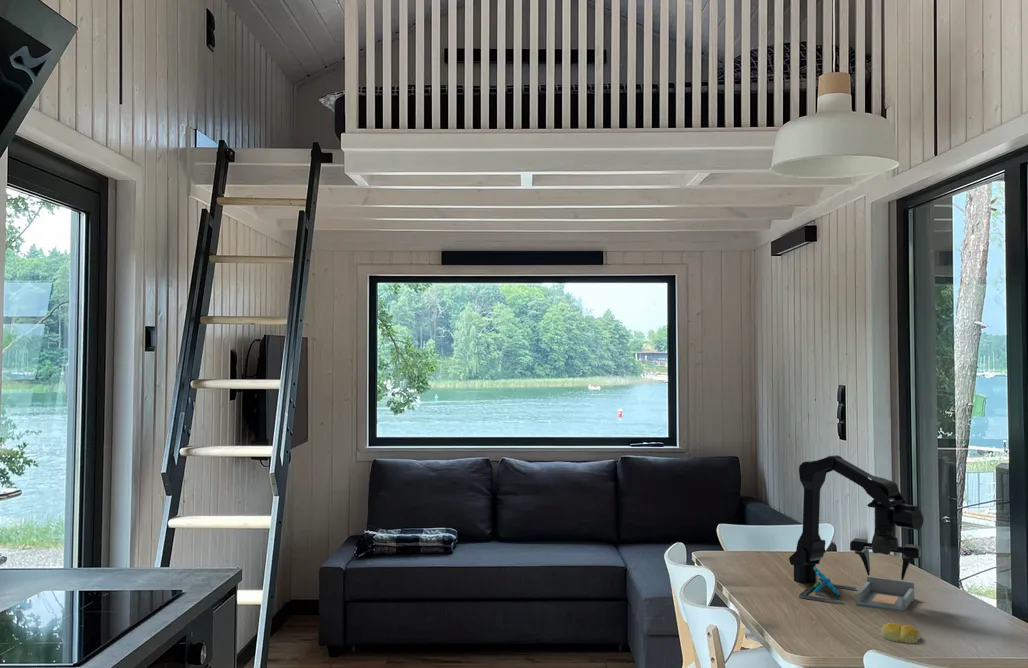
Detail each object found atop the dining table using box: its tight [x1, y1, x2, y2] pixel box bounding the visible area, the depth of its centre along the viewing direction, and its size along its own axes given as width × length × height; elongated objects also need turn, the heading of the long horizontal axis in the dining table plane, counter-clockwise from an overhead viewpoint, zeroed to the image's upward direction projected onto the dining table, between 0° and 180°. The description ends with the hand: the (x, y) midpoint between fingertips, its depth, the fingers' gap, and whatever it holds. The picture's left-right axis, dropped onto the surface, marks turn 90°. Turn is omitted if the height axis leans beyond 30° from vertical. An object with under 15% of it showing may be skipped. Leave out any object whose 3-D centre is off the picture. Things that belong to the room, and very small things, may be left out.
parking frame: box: [798, 581, 857, 605], centre depth 255 cm, size 12×19×1 cm, turn 147°
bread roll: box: [881, 622, 922, 644], centre depth 212 cm, size 8×9×4 cm
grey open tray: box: [855, 575, 915, 612], centre depth 247 cm, size 13×18×5 cm
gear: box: [813, 567, 841, 596], centre depth 256 cm, size 11×6×10 cm
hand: (885, 577), depth 247 cm, fingers open, 9 cm apart
